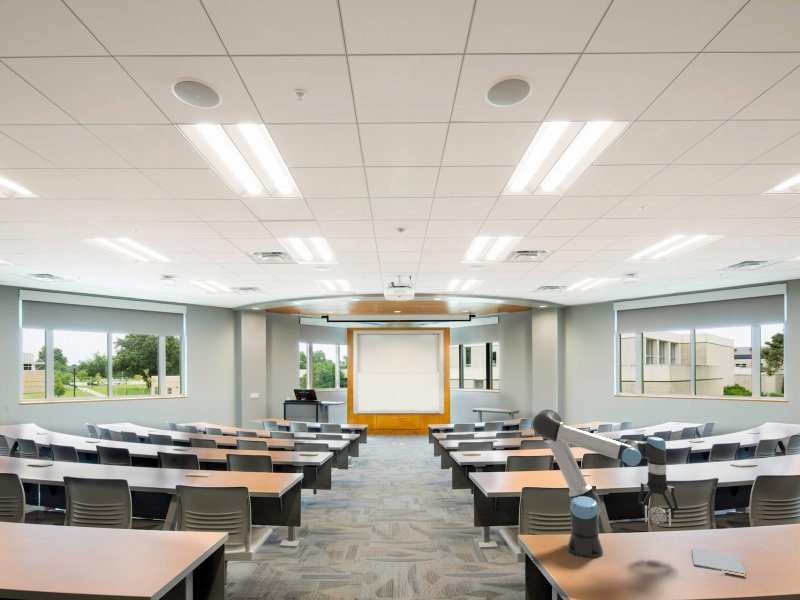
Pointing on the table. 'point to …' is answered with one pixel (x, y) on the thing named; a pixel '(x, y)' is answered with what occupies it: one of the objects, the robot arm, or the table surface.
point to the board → (717, 560)
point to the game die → (657, 515)
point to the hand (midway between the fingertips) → (658, 523)
